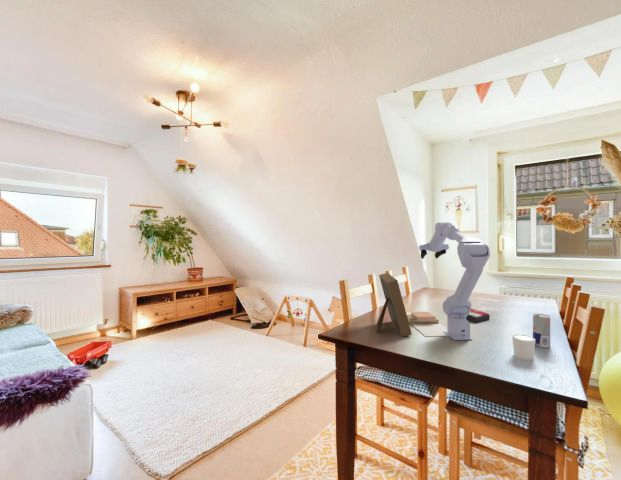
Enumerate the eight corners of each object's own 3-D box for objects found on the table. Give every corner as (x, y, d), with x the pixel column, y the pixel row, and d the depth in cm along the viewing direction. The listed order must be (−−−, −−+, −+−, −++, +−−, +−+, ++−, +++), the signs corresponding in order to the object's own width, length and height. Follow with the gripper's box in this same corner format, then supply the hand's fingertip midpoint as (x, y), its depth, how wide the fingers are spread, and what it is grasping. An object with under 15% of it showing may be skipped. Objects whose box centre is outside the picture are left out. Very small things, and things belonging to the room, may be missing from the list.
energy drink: (533, 342, 118) (533, 312, 118) (550, 345, 115) (550, 315, 114) (532, 346, 114) (532, 316, 114) (550, 349, 111) (550, 318, 110)
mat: (457, 336, 126) (457, 335, 126) (425, 336, 126) (425, 336, 126) (440, 324, 142) (440, 323, 142) (411, 324, 142) (411, 324, 142)
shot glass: (525, 352, 109) (525, 333, 109) (540, 360, 102) (540, 340, 102) (507, 352, 108) (507, 334, 108) (521, 361, 102) (521, 341, 101)
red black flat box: (476, 316, 143) (449, 308, 156) (476, 325, 143) (449, 315, 157) (490, 313, 148) (463, 305, 161) (489, 321, 148) (462, 312, 162)
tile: (435, 320, 142) (435, 316, 142) (417, 321, 142) (417, 317, 142) (428, 315, 150) (428, 312, 150) (411, 316, 150) (411, 312, 150)
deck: (438, 323, 143) (438, 319, 143) (412, 324, 143) (412, 320, 143) (425, 315, 158) (425, 311, 158) (402, 315, 158) (402, 312, 158)
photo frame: (399, 321, 148) (398, 272, 147) (411, 336, 126) (410, 279, 126) (370, 321, 149) (369, 273, 148) (377, 337, 127) (376, 280, 127)
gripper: (449, 234, 146) (439, 250, 157) (420, 235, 146) (413, 251, 156) (454, 245, 142) (444, 261, 152) (424, 246, 141) (416, 262, 152)
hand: (428, 257), depth 154 cm, fingers open, 7 cm apart
